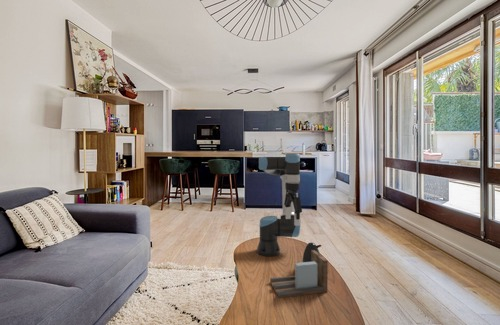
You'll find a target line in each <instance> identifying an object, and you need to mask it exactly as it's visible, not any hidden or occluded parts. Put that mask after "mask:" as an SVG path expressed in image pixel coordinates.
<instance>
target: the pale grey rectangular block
mask: <svg viewBox="0 0 500 325" xmlns="http://www.w3.org/2000/svg"><path fill="white" fill-rule="evenodd" d="M294 264H295V265H294V268H295V269H294V270H295V272H294V276H295V288H296V289H300V288H309V287H317V263H316V262H315V261H313V262H302V261H301V262H295V263H294Z"/></svg>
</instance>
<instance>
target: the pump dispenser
mask: <svg viewBox="0 0 500 325" xmlns="http://www.w3.org/2000/svg"><path fill="white" fill-rule="evenodd" d="M321 247H322V244H316V243H314V242H308V243H307V244H306V245H305V247H304V250H303V254H302V260H301V263H302V262H311V250H315V251H317V252H318V253H319V254H320V251H319V248H321ZM320 255H321V254H320Z"/></svg>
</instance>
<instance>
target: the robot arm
mask: <svg viewBox="0 0 500 325" xmlns="http://www.w3.org/2000/svg"><path fill="white" fill-rule="evenodd" d="M300 156H301V155H300V154H299V153H298V152H297V153H291V152H289V153H286V154H285V156H260V157H259V158H258V169H259V170H261V171H263V172H265V173H266V174H269V175H272V176H279V179H281V187H282V188H281V189H282V193H281V194H282V213H281V215H280V218H278V216H276V215H267V216H266V215H265V216H263V217H261V218H260V219H259V241H258V245H257V248H256V253H257V254H258V255H260V256H264V257H275V256H278V255H279V254H280V253H281V248H280V244H279V242H278V238H297V237H299V236H300V232H301V223H302V222H301V213H303V208H302V205H301V199H300V198H301V197H300V196H301V194H300V193H299V192H297V191H300V188H301V187H300V186H301V183H300V182H301V180H300V179H301V173H300V170H301V169H300V166H301V165H300V164H301V163H300V162H301V159H300Z"/></svg>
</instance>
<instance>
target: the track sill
mask: <svg viewBox="0 0 500 325" xmlns="http://www.w3.org/2000/svg"><path fill="white" fill-rule="evenodd" d="M319 253H320V252H319ZM319 253H318V252H317V251H315V250H311V262H313V261H315V262H316V263H317V287H309V288H300V289H296V288H295V275H288V276H279V277H270V280H269V283H270V285H271V287H272V288H273V290H274V292H275V294H276V295H277V297H278V298H288V297H295V296H304V295H313V294H320V293H321V294H322V293H328V275H329V274H328V270H329V269H328V266H329V264H328V262H329V261H328V259H326V258H325V257H324V256H323V255H321V254H319Z"/></svg>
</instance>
